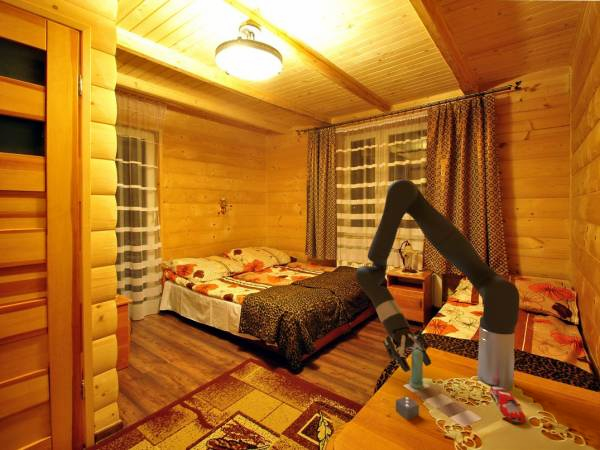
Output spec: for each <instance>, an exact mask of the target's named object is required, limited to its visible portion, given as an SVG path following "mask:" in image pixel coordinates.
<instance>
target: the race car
mask: <svg viewBox="0 0 600 450" xmlns="http://www.w3.org/2000/svg"><path fill="white" fill-rule="evenodd" d="M488 392H489V395H490V396H491V398H492V400H493V402H495V404H496V406H497V407H498V409H499V411H500V413H502V416H503V417H502V420H504V421H507V422H509V423H511V424H512V423H513V424H517V425H522V424H525V423H526V421H527V419H526V415H525V413H524V411H523V410H522V408H521V407H520V406H521V403H518V402H517V400H516V398H514V396H513V395H512V393H511V392H510V391H507V390H506V389H504V388H500V387H491V386H490V389H489V391H488Z"/></svg>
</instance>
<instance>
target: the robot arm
mask: <svg viewBox="0 0 600 450" xmlns="http://www.w3.org/2000/svg"><path fill="white" fill-rule="evenodd" d="M386 191H387V192H386V197H385V203H384V209H383V212H382V215H381V219H380V222H379V223H378V226H377V229H376V232H375V234H374V237H373V239H372V240H371V241H372V242H371V244H370V247H369V249H368V252H367V259H368V260H369V261H371V262H372V264H371V265H360V266H359V267H358V268H357V269H356V270H355V279H356V283H357V285H358V286H359V287H360V289H361V290H362V291H363V292H364V293H365V295H366V297H368V298H369V299H370V300H371V302H372V305H373V307H374V309H375V311H376V313H377V315H378V318H379V321H380V322H381V324H382V326H383V329H384V330H385V332H386V334H387V336H386V337H385V338H383V340H382V342H383V345H384V347H385V349H386V352H387V354H388V356H389V358H390V359H391V360H393V359H395V360H396V361H397V362H398V364H399V366H400V368H401V370H402V371H403V372H404V373H408V372H409V371H411V366H410V365H409V363H408V361H407V359H406V357H405V356H404V350H408V349H411V350H412V351H413V350H414V349H419V350H421V351H422V353H423V365H424V366H425V367H428V366H430V365H431V364H432V360H431V358H430V356H429V354H428V352H427V349H429V348H430V345H429V344H428V342H427V341H426V339H425V337H424V335H423V334H422V332H421V331H420V330H419V329H416V330H415V331H412V330H411V329H410V324H409V322H408V320H407V318H406V316H405V315H404V313H403V312H402V309H401V307H400V305H399V304H398V303H397V302H396V300H395V298H394V296H393V294H392V293H391V291H390V290H389V288H388V287H386V286H383V285H381V284H383V282H384V280H385V279H386V275H387V274H386V273H387V265H388V264H387V263H388V259H389V257H390V254H391V252H392V249H393V246H394V243H395V240H396V237H397V233H398V230H399V227H400V224H401V223H402V220H403V218H404V216H405V214H406V213H407V214H408V215H409V216H410V217H411V218H412V219H413V221H414V222H416V224H417V226H418V227H419V228H420V231H421V232H422V234H423V235H424V237H425V238H426V239H427V241H428V242H429V243H430V244H431V246H432V247H433V248H434V249H435V250H436V251H437V252H438V253H439V254H440V256H442V257H443V258H444V259H445V260H446V261H447V262H449V264H451V265H452V267H454V268H456V269H457V270H458V271H459V272H460V273H462V274H463V275H464V277H465V278H466V279H467V280H468V281H469V282H470V284H471V285H472V286H473V288H474V289H475V291H476V292H477V293H478V295H479V296H480V297H481V299H482V300H483V309H482V310H483V313H482V316H480V318H479V330H478V331H479V332H478V356H477V357H478V358H477V359H478V361H477V380H478V381H479V382H481V383H483V384H485V385H487V386H488V387H490V388H491V387H500V388H504V389H506V390H507V391H508V392H510V391H511V390H513V385H514V372H515V337H516V336H515V333H516V332H515V331H516V330H515V329H516V326H517V325H518V322H519V312H520V291H519V290H518V288H517V286H516V285H515V284H514V283H513V282H511V281H509V280H507V279H506V278H504V277H502V276H501V275H500V274H498V273H497V272H496V271H495V270H494V269H493V268H491V267H490V266H489V265H488V264H487V263H486V262H485V261H484V260H483V259H482V258H481V256H480V255H479V254H478V252H477V251H476V249H475V248H474V246H473V244H472V243H471V241H470V240H469V239H468V238H467V237H466V235H464V234H463V232H461V231H460V230H459V229H458V228H457V226H455V225H454V224H453V223H452V221H450V220H449V219H448V218H447V217H446V216H445V215H444V214H443V213H441V212H440V211H439V210H437V209H436V208H435V207H434V206H433V205H432V204H431V203H430V202H429V201H428V199H427V198H426V197H425V196H424V194H423V193H422V192H421V190H420V189H419V188H418V187H417V185H416V184H415V183H414V182H413V181H412V180H410V179H408V178H407V179H406V178H400V179H397V180H395V181H393V182H392V183H390V185H389V186H388V188H387V190H386Z"/></svg>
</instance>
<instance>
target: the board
mask: <svg viewBox="0 0 600 450" xmlns="http://www.w3.org/2000/svg"><path fill="white" fill-rule="evenodd" d="M422 382H423V389H420V390H418V389H414V388H412V387H411V386H410V382H409V383H406V384H403V387H405V389H407V390H409V391H410V392H412V393H413V394H414V395H416V396H417V397H419V398H421V400H423V401H425V402H427V403H428V404H429V405H431V406H432V407H434V408H435V409H436V410H438V411H439V412H441V413H442V414H444V415H445V416H447V417H448V418H450V419H451V420H452V421H454V422H455V423H457V425H460V426H461V427H463V428H465V427H467V426H470V425H472V424H474V423H477V422H478V421H480V420H483V418H482V417H481V416H479V415H477V414H475V413H474V412H472V411H470V410H469V409H467V408H466V407H464V406H462V405H461V404H459V403H458V402H456V401H454V400H453V399H451V398H449V397H448V396H446V395H445V394H443V393H442V392H440V391H438V390H437V389H435V388H434V387H431V386H430V385H429V384H427V383H426V382H424V381H422Z"/></svg>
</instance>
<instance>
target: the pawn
mask: <svg viewBox="0 0 600 450" xmlns="http://www.w3.org/2000/svg"><path fill="white" fill-rule="evenodd" d="M419 349H420V348H419ZM419 349H414V350H413V349H412V352H411V360H410V361H411V366H410V379H409V383H410V386H411V387H412V388H414V389H418V391H419V390H420V389H421V390H422V389H423V382H424V381H423V378H424V377H423V371H424V370H423V369H424V368H423V367H424V362H423V353H422V351H421V350H419Z"/></svg>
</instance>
